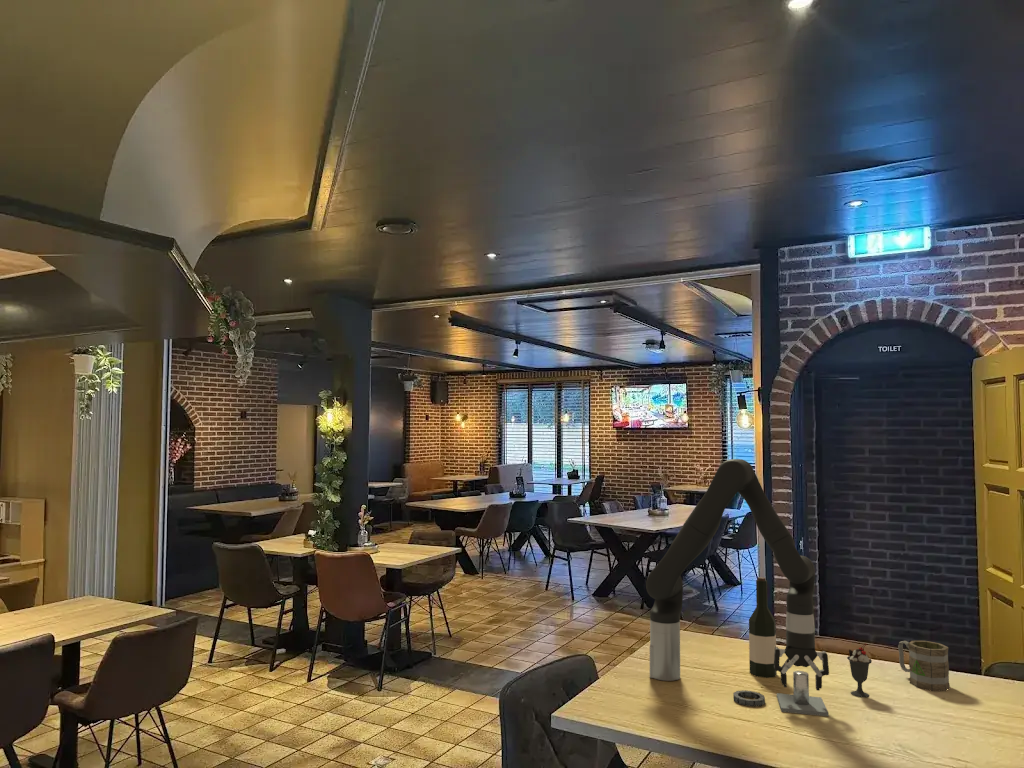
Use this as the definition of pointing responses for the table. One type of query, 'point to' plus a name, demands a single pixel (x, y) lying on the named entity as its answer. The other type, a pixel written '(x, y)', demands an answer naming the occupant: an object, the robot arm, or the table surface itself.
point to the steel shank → (801, 687)
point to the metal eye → (757, 700)
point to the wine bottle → (762, 635)
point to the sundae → (859, 669)
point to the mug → (926, 664)
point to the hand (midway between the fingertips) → (801, 688)
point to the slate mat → (813, 708)
